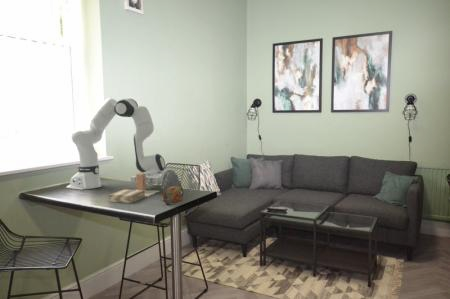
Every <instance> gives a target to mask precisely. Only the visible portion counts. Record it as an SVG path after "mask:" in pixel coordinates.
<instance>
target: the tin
mask: <svg viewBox="0 0 450 299" xmlns="http://www.w3.org/2000/svg"><path fill="white" fill-rule="evenodd" d="M181 186H182V185H181ZM181 186H174V187H170V188H167V189H165V190H164V191H163V192H162V201H163V202H164V204H166V205H173V204H175V203H179V202H180V201H182V199H183V198H184V189H183V186H182V187H181ZM172 203H173V204H172Z"/></svg>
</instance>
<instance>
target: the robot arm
mask: <svg viewBox="0 0 450 299" xmlns="http://www.w3.org/2000/svg"><path fill="white" fill-rule="evenodd" d="M116 115H117V116H119V117H123V118H132V120H133V122H134V125H135V134H134V135H133V146H134V152H135V153H134V154H135V167H136V169H137V170H138V171H139V173H146V180H144V183H146V184H148V185H156V184H162V180H163V177H164V173H165V172H167V171H168V170H167V168H166V162H165V159H164V157H163V156H162V155H161V154H159V153H155V154H152V155H146V156H145V155H144V146H143V143H144V141H145V140H146V139H148V138H149V137H150V136H151V135H152V134H153V132H154V129H155V128H154V123H153V119H152V116H151V114H150V111H149V109H148V108H147V107H146V106H143V105H140V106H139V105H138V102H137V100H135V99H133V98H122V99H118V100H116V99H114V98H112V97H110V98H107V99H105V100H104V101H103V102H102V103H101V104H100V105H99V106H98V107H97V108H96V110H95V111H94V113H93V114H92V115H91V117H90V121H89V124H88V126H86V127H83V128H78V129H76V130H74V131H73V133H72V135H71V141H72V142H73V143H74V145H75V146H76V148H77V151H78V155H79V165H80V166H79V167H76V169H77V171H78V172H76V173H75V174H74V175H73V176H71V178H70V180H69V184H68V185H67V186H65V187H66V189H73V190H81V191H82V190H89V189H90V190H91V189H96V188H97V189H98V188H101V187H102V182H101V177H100V166H99V159H98V153H97V151H96V149H95V147H94V144H97V143H98V142H100V141H101V140H102V138H103V133H104V131H105V130H106V128H107V126H108V125H109V124H110V123H111V121H112V120H113V119H114V118H115V116H116ZM130 182H131V183H136V184H137V178H136V174H134V175H131V176H130Z"/></svg>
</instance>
